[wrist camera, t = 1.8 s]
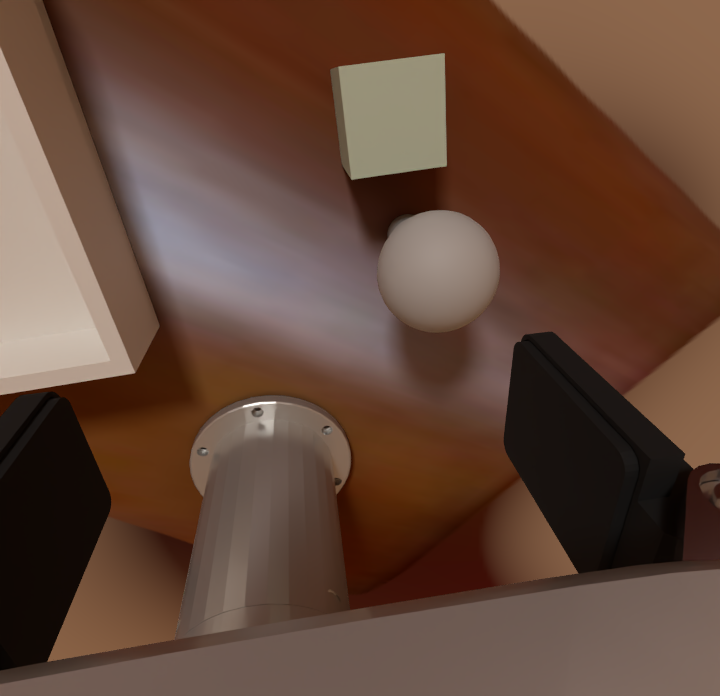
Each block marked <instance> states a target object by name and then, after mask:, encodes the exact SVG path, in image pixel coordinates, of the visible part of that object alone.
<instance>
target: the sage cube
mask: <svg viewBox="0 0 720 696" xmlns="http://www.w3.org/2000/svg"><path fill="white" fill-rule="evenodd" d="M330 72H331V80H332V88H333V96H334V104H335V112H336V120H337V128H338V136H339V145H340V153H341V161H342V166H343V167H344V169H345V171H346V172H347V174H348V175H349V177H350V178H351V180H353V179H360V178H367V177H374V176H381V175H388V174H395V173H402V172H409V171H416V170H423V169H430V168H437V167H444V166H447V155H446V104H445V53H443V54H435V55H427V56H419V57H411V58H403V59H396V60H388V61H380V62H372V63H364V64H357V65H349V66H341V67H336V68H333V69H330Z"/></svg>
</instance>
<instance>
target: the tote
mask: <svg viewBox="0 0 720 696" xmlns="http://www.w3.org/2000/svg"><path fill="white" fill-rule="evenodd" d="M159 327H160V325H159V322H158V319H157V316H156V314H155V311H154V308H153V305H152V302H151V300H150V297H149V294H148V291H147V289H146V286H145V283H144V280H143V278H142V275H141V272H140V269H139V267H138V264H137V261H136V258H135V255H134V253H133V250H132V247H131V244H130V242H129V239H128V236H127V233H126V231H125V228H124V225H123V222H122V219H121V217H120V214H119V211H118V208H117V206H116V203H115V200H114V197H113V195H112V192H111V189H110V186H109V183H108V181H107V178H106V175H105V172H104V170H103V167H102V164H101V161H100V159H99V156H98V153H97V150H96V147H95V145H94V142H93V139H92V136H91V134H90V131H89V128H88V125H87V123H86V120H85V117H84V114H83V111H82V109H81V106H80V103H79V100H78V98H77V95H76V92H75V89H74V87H73V84H72V81H71V78H70V76H69V73H68V70H67V67H66V64H65V62H64V59H63V56H62V53H61V51H60V48H59V45H58V42H57V40H56V37H55V34H54V31H53V28H52V26H51V23H50V20H49V17H48V15H47V12H46V9H45V6H44V4H43V1H42V0H0V395H3V394H10V393H16V392H22V391H28V390H34V389H41V388H47V387H53V386H59V385H65V384H71V383H78V382H84V381H90V380H96V379H102V378H109V377H115V376H121V375H127V374H133V373H136V371H137V369H138V367H139V365H140V363H141V361H142V359H143V357H144V355H145V354H146V352H147V350H148V348H149V346H150V344H151V342H152V340H153V338H154V336H155V334H156V333H157V331H158V329H159Z"/></svg>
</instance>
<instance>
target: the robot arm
mask: <svg viewBox="0 0 720 696" xmlns="http://www.w3.org/2000/svg"><path fill="white" fill-rule="evenodd" d="M504 446H505V450H506V453H507V455H508V457H509V458H510V460H511V462H512V463H513V465H514V467H515V468H516V470H517V472H518V473H519V475H520V477H521V478H522V480H523V481H524V483H525V485H526V486H527V488H528V490H529V492H530V493H531V495H532V497H533V498H534V500H535V502H536V503H537V505H538V506H539V508H540V510H541V512H542V513H543V515H544V517H545V518H546V520H547V522H548V523H549V525H550V527H551V528H552V530H553V532H554V533H555V535H556V537H557V538H558V540H559V542H560V543H561V545H562V546H563V548H564V550H565V551H566V553H567V555H568V557H569V558H570V560H571V562H572V563H573V565H574V567H575V568H576V570H577V571H578V573H579V574H574V575H566V576H560V577H552V578H545V579H539V580H533V581H527V582H522V583H514V584H508V585H502V586H496V587H490V588H484V589H477V590H471V591H465V592H459V593H453V594H447V595H441V596H434V597H428V598H422V599H416V600H409V601H403V602H398V603H391V604H385V605H379V606H373V607H367V608H361V609H355V610H350V606H349V598H348V590H347V581H346V573H345V564H344V556H343V548H342V539H341V531H340V522H339V514H338V506H337V497H336V495H337V494H338V492H339V491H340V490H341V488H342V487H343V486H344V484H345V482H346V480H347V478H348V475H349V471H350V467H351V452H350V447H349V441H348V439H347V436H346V434H345V432H344V430H343V428H342V427H341V426H340V424H339V423H338V421H337V420H336V419H335V418H334V417H332V416H331V415H330V414H329V413H328V412H327V411H325V410H324V409H322V408H320V407H318V406H317V405H315V404H313V403H310V402H307V401H305V400H302V399H298V398H293V397H288V396H272V395H267V396H259V397H252V398H248V399H245V400H241V401H238V402H235V403H233V404H231V405H229V406H227V407H225V408H223V409H221V410H220V411H219V412H217V413H216V414H215V415H213V416H212V417H211V418H210V419H209V420H208V421H207V422H206V423H205V424H204V425H203V426H202V427H201V429H200V431H199V433H198V434H197V436H196V438H195V441H194V444H193V447H192V451H191V457H190V472H191V477H192V479H193V482H194V484H195V486H196V488H197V489H198V491H199V492H200V494H201V495H202V496H203V502H202V507H201V511H200V516H199V521H198V526H197V531H196V536H195V541H194V546H193V551H192V556H191V561H190V566H189V571H188V576H187V581H186V586H185V591H184V595H183V601H182V606H181V610H180V615H179V620H178V625H177V630H176V636H175V640H171V641H166V642H160V643H154V644H148V645H142V646H137V647H131V648H126V649H119V650H114V651H108V652H102V653H96V654H90V655H85V656H79V657H74V658H67V659H62V660H57V661H51V662H47V661H48V658H49V656H50V653H51V651H52V648H53V646H54V643H55V641H56V639H57V636H58V634H59V632H60V629H61V627H62V625H63V622H64V620H65V617H66V615H67V613H68V610H69V608H70V605H71V603H72V600H73V598H74V596H75V593H76V591H77V588H78V586H79V584H80V581H81V579H82V576H83V574H84V572H85V569H86V567H87V565H88V562H89V560H90V557H91V555H92V553H93V550H94V548H95V545H96V543H97V541H98V538H99V536H100V534H101V531H102V529H103V526H104V524H105V522H106V519H107V517H108V514H109V512H110V508H111V496H110V493H109V490H108V488H107V486H106V483H105V481H104V479H103V477H102V474H101V472H100V470H99V467H98V465H97V463H96V461H95V458H94V456H93V454H92V452H91V449H90V447H89V445H88V443H87V440H86V438H85V436H84V433H83V431H82V429H81V427H80V424H79V422H78V420H77V418H76V415H75V413H74V411H73V408H72V406H71V404H70V402H69V401H68V400H67V399H66V398H64V397H62V398H60V397H59V395H58V394H56V393H55V392H44V393H36V394H28V395H21V396H19V397H18V398H16V399H15V401H14V402H13V403H12V404H11V405H10V406H9V408H8V409H7V410H6V411H5V412H4V413H3V414H2V416H1V417H0V696H720V464H719V463H717V464H716V463H709V464H705V465H701V466H698V467H697V468H695V469H693V468H692V467H691V466H690V465H689V464H688V463H687V462H685V461H684V460H683V459H684V456H685V453H684V452H683V451H682V450H681V449H679V448H678V447H677V446H676V445H675V444H674V443H673V442H672V441H671V440H670V439H668V437H666V436H665V435H664V434H663V433H662V432H661V431H660V430H659V429H658V428H657V427H656V426H655V425H653V424H652V423H651V422H650V421H649V420H648V419H647V418H646V417H644V415H642V414H641V413H640V412H639V411H638V410H637V409H636V408H635V407H634V406H633V405H632V404H631V403H630V402H628V401H627V400H626V399H625V398H624V397H623V396H622V395H621V394H620V393H619V392H618V391H617V390H615V389H614V388H613V387H612V386H611V385H610V384H609V383H608V382H607V381H606V380H605V379H604V378H602V377H601V376H600V375H599V374H598V373H597V372H596V371H595V370H594V369H593V368H592V367H590V366H589V365H588V364H587V363H586V362H585V361H584V360H583V359H582V358H581V357H580V356H579V355H577V354H576V353H575V352H574V351H573V350H572V349H571V348H570V347H569V346H568V345H567V344H566V343H564V342H563V341H562V340H561V339H560V338H559V337H558V336H557V335H556V334H555V333H553V332H543V333H535V334H526V335H524V336H523V338H522V340H521V342H517V343H516V344H515V346H514V351H513V360H512V369H511V378H510V387H509V396H508V405H507V414H506V423H505V432H504Z"/></svg>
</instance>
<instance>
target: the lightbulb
mask: <svg viewBox="0 0 720 696" xmlns="http://www.w3.org/2000/svg"><path fill="white" fill-rule="evenodd" d="M387 237H388V239H387V240H386V242H385V243H384V246H383V248H382V250H381V252H380V257H379V261H378V267H377V281H378V287H379V291H380V293H381V295H382V298H383V300H384V302H385V304H386V306H387V307H388V308H389V310H390V311H391V312H392V313H393V314H394V315H395V316H396V317H397V318H398V319H399V320H401V321H402V322H403V323H405V324H407V325H408V326H410V327H412V328H415V329H418V330H421V331H424V332H431V333H443V332H449V331H453V330H456V329H459V328H461V327H463V326H466V325H467V324H469V323H471V322H472V321H474V320H475V319H476V318H477V317H479V316H480V315H481V314H482V313H483V312H484V310H485V309H486V308H487V307H488V305H489V304H490V302H491V301H492V299H493V297H494V295H495V293H496V290H497V287H498V283H499V277H500V266H499V257H498V254H497V250H496V247H495V245H494V244H493V242H492V240H491V238H490V236H489V234H488V233H487V232H486V231H485V230H484V228H483V227H482V226H481V225H479V224H478V223H476V222H475V221H474V220H472V219H471V218H470V217H468V216H465V215H463V214H461V213H458V212H453V211H447V210H436V211H427V212H423V213H419V214H417V215H411V214H405V215H401V216H399V217H397V218H396V219H395V220H394V221H393V222H392V223H391V224H390V226H389V229H388V233H387Z"/></svg>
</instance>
